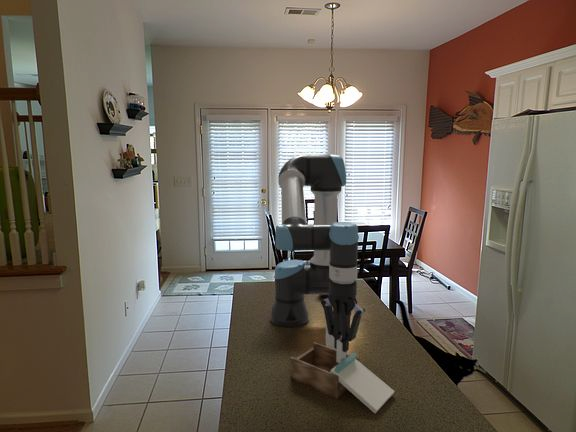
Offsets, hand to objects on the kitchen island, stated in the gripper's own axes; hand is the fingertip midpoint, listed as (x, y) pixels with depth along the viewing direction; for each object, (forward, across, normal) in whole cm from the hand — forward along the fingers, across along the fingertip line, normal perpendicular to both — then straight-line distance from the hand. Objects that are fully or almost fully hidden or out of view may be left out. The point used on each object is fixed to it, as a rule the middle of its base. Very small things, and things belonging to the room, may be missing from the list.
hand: (341, 360), depth 109 cm
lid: (+4, +6, 0) cm, 8 cm away
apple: (+8, -43, +56) cm, 71 cm away
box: (+8, -6, 0) cm, 9 cm away
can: (+8, -13, +17) cm, 23 cm away
